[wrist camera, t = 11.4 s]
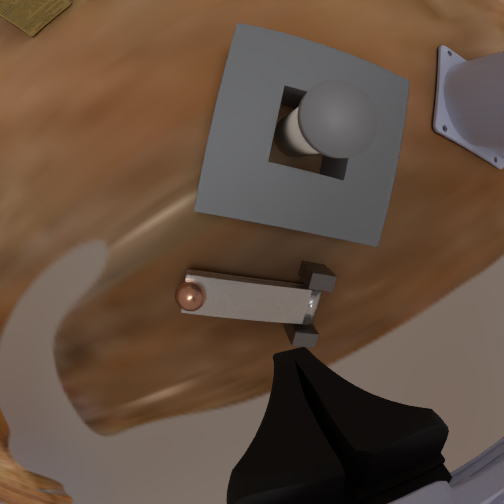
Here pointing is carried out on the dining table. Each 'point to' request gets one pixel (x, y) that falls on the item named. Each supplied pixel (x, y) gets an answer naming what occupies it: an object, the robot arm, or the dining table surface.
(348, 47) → the dining table surface
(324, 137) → the peg
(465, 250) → the dining table surface
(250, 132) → the hole block
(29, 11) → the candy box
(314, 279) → the lever bracket
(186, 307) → the latch lever
